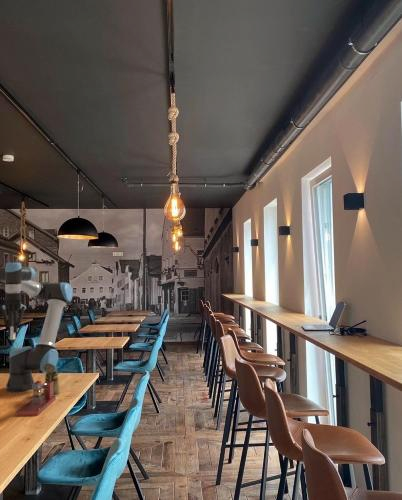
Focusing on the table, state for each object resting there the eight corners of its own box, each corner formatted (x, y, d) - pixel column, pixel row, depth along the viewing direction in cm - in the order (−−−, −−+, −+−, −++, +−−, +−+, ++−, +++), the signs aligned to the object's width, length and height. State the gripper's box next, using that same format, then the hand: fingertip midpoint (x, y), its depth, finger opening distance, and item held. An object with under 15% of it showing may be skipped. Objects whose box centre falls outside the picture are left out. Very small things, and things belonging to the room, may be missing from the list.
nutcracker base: (36, 400, 222) (36, 380, 222) (55, 399, 222) (55, 380, 223) (16, 415, 197) (16, 393, 197) (38, 415, 197) (38, 393, 198)
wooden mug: (39, 398, 225) (39, 363, 226) (44, 391, 238) (45, 358, 239) (56, 397, 226) (56, 363, 227) (61, 390, 239) (61, 358, 240)
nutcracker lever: (39, 388, 219) (40, 383, 220) (48, 388, 219) (48, 383, 220) (22, 389, 197) (22, 384, 198) (31, 389, 197) (32, 384, 198)
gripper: (-3, 293, 215) (-4, 340, 214) (23, 292, 215) (22, 340, 214) (3, 292, 222) (3, 338, 221) (28, 292, 223) (28, 337, 221)
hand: (12, 339), depth 218 cm, fingers closed
